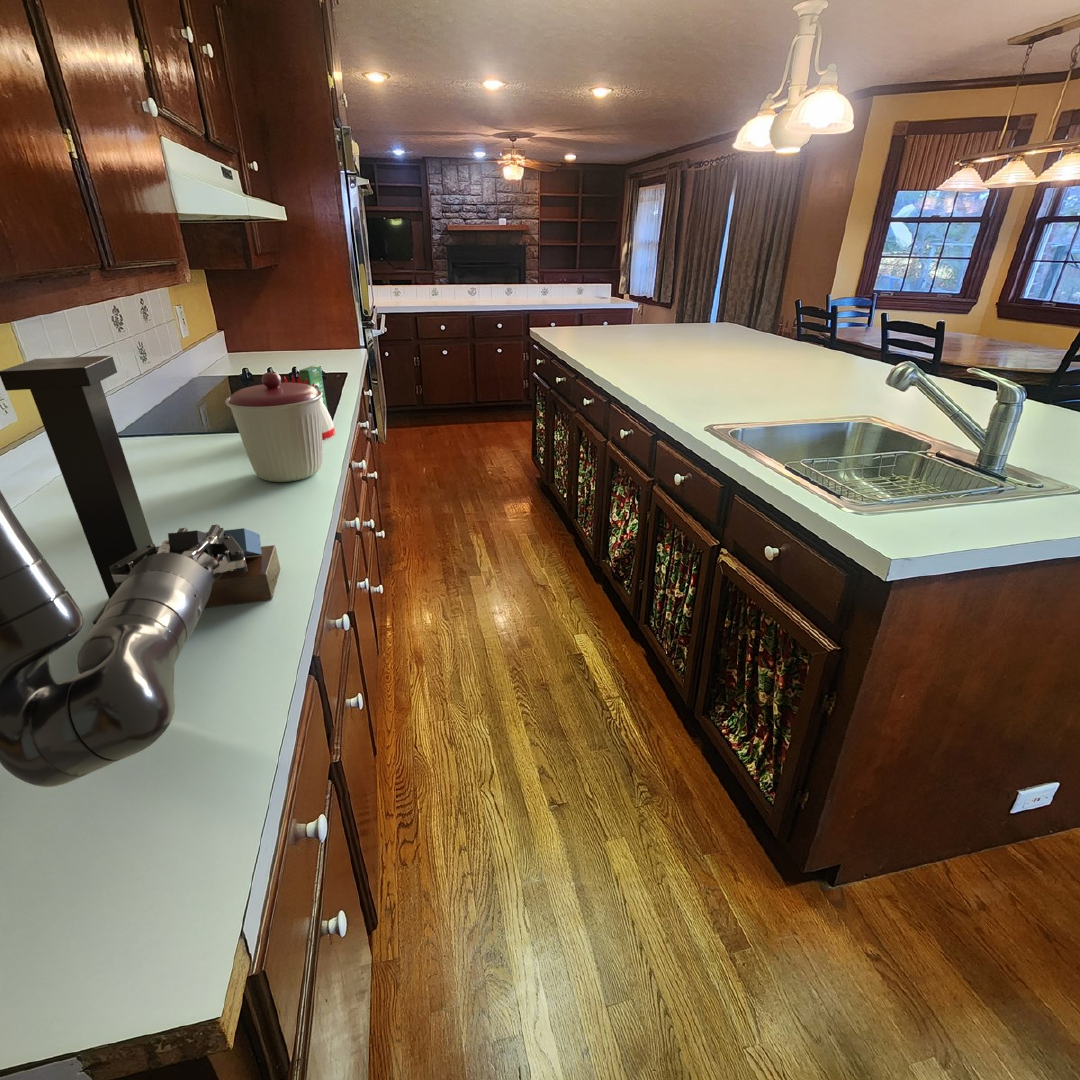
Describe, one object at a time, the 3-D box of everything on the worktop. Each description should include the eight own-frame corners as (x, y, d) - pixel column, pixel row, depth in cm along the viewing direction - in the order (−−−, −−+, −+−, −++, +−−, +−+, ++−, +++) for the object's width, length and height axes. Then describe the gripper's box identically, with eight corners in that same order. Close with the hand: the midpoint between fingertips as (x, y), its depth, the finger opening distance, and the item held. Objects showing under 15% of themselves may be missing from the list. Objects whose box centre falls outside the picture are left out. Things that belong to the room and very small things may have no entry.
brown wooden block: (200, 608, 81) (192, 582, 79) (215, 576, 89) (208, 552, 87) (272, 599, 83) (265, 574, 81) (280, 568, 91) (275, 544, 89)
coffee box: (319, 410, 176) (311, 364, 171) (328, 410, 176) (321, 364, 170) (306, 417, 169) (297, 370, 163) (316, 418, 169) (307, 370, 163)
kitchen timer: (277, 431, 157) (264, 372, 151) (332, 425, 162) (322, 367, 156) (278, 445, 146) (265, 383, 139) (337, 439, 151) (327, 377, 144)
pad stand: (96, 631, 76) (-8, 373, 62) (124, 592, 85) (38, 357, 71) (166, 622, 78) (80, 369, 64) (186, 584, 87) (115, 354, 73)
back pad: (144, 554, 67) (141, 527, 67) (200, 562, 84) (198, 540, 84) (223, 545, 68) (220, 518, 69) (261, 554, 86) (259, 533, 86)
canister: (285, 457, 138) (266, 362, 129) (352, 465, 133) (337, 366, 124) (223, 483, 123) (197, 378, 114) (297, 494, 118) (275, 384, 108)
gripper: (227, 563, 59) (256, 498, 74) (62, 582, 56) (128, 511, 71) (244, 627, 62) (269, 553, 77) (90, 648, 59) (147, 567, 74)
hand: (201, 533), depth 74 cm, fingers closed on back pad, 3 cm apart
